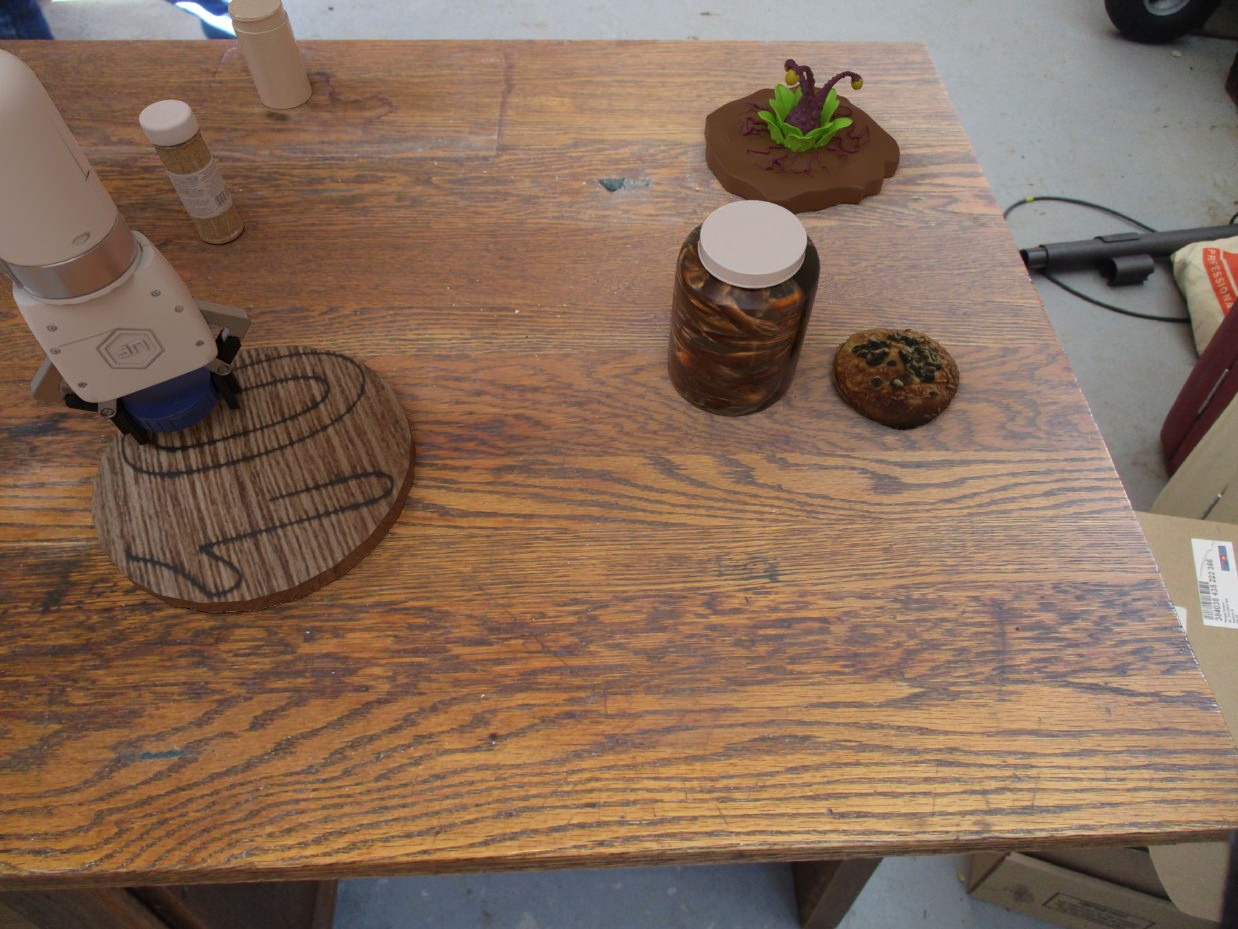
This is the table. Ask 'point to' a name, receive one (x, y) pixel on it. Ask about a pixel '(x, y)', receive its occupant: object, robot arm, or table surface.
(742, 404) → the jar
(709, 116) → the plant
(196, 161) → the spice bottle
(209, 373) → the lid
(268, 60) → the beige cylindrical container
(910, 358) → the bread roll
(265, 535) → the trivet
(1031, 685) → the table surface
